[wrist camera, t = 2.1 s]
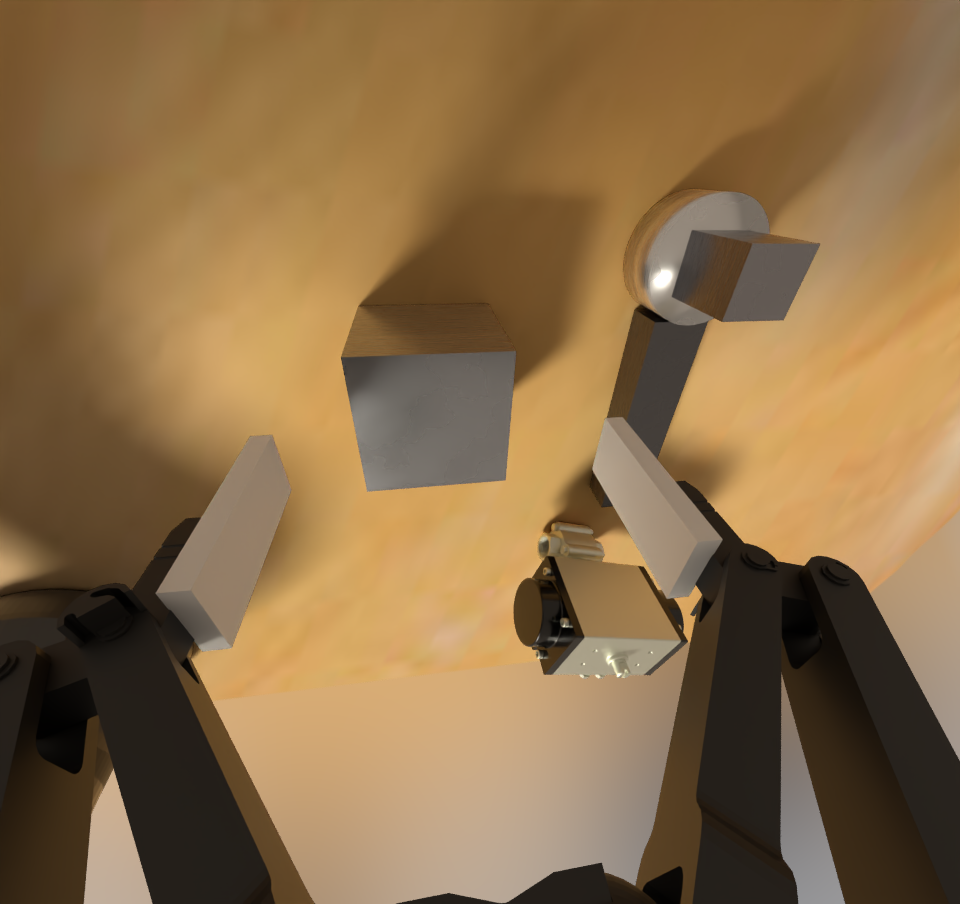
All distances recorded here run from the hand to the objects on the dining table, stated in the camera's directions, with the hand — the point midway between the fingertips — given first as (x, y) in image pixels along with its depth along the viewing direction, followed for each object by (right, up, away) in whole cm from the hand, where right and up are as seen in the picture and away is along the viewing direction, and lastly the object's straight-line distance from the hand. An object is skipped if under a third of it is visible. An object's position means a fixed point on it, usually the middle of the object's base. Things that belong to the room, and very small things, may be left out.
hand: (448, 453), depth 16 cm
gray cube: (-2, +5, +7) cm, 9 cm away
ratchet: (+12, +5, +10) cm, 16 cm away
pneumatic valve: (+9, -8, +19) cm, 22 cm away
